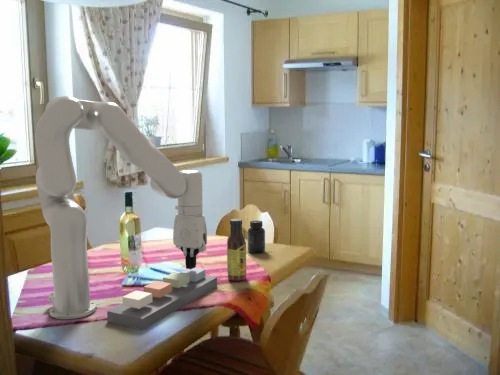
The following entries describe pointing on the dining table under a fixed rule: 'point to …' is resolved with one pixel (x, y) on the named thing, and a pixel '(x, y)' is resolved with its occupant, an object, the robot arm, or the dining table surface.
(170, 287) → the terracotta key
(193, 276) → the slate key
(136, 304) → the cream key
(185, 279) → the sage key
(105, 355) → the dining table surface
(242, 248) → the sauce bottle
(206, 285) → the keypad base
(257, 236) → the supplement bottle
